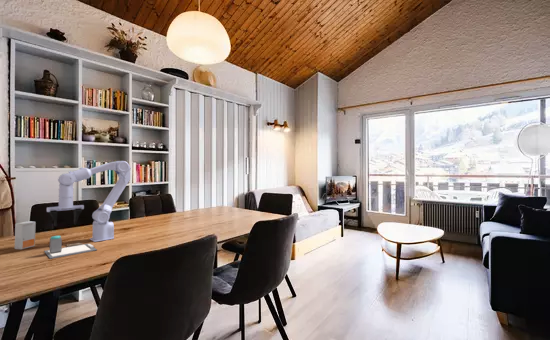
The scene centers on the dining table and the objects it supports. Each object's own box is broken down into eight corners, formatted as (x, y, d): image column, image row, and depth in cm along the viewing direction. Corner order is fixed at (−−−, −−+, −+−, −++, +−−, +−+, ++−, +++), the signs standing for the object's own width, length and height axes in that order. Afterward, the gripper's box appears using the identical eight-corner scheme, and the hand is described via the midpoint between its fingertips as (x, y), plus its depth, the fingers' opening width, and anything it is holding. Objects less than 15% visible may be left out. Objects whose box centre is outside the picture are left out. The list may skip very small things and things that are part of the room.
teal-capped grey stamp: (59, 250, 123) (59, 235, 123) (61, 252, 120) (61, 236, 120) (49, 252, 120) (49, 236, 120) (51, 253, 118) (51, 238, 117)
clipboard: (88, 244, 135) (88, 242, 135) (96, 250, 125) (96, 248, 125) (44, 251, 122) (44, 249, 122) (50, 259, 113) (50, 256, 113)
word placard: (80, 242, 137) (80, 242, 137) (82, 244, 134) (82, 243, 134) (65, 245, 132) (65, 244, 132) (67, 246, 130) (67, 246, 130)
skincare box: (21, 249, 124) (21, 223, 124) (14, 249, 125) (14, 223, 125) (35, 246, 130) (36, 221, 130) (28, 245, 131) (29, 220, 131)
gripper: (81, 195, 141) (80, 221, 141) (45, 197, 130) (45, 225, 131) (85, 197, 137) (84, 223, 137) (48, 199, 126) (47, 227, 126)
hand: (65, 224), depth 133 cm, fingers open, 7 cm apart
